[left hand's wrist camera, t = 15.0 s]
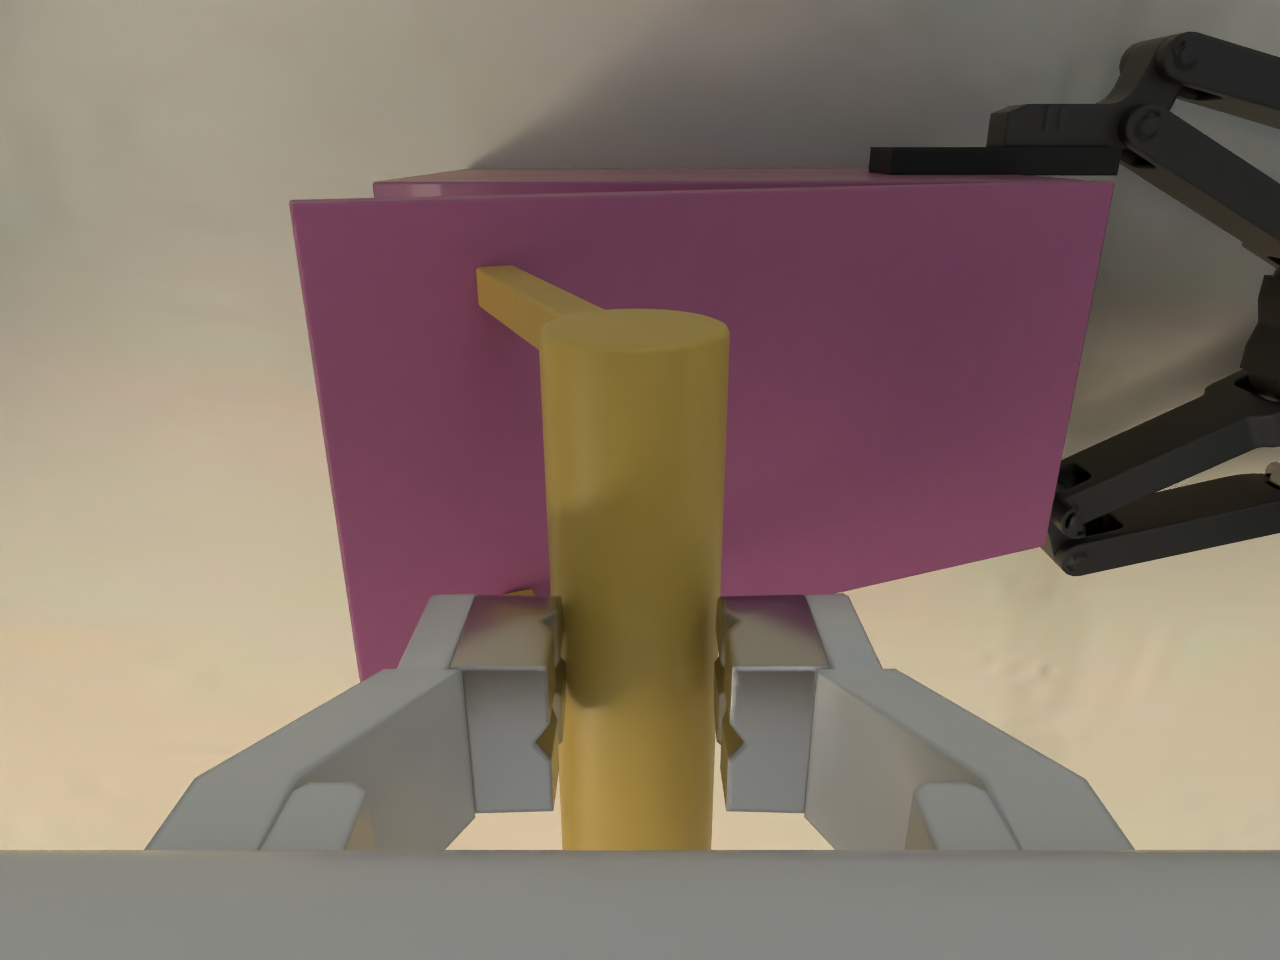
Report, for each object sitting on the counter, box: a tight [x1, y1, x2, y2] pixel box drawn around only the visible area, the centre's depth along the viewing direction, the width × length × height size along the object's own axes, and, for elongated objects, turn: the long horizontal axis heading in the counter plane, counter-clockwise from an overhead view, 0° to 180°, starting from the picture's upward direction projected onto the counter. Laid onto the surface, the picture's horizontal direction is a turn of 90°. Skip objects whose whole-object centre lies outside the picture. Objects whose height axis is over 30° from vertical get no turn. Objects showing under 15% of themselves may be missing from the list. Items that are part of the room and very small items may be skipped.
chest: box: [373, 168, 1083, 198], centre depth 28 cm, size 18×10×11 cm, turn 90°
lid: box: [289, 180, 1114, 850], centre depth 16 cm, size 18×10×9 cm, turn 90°
